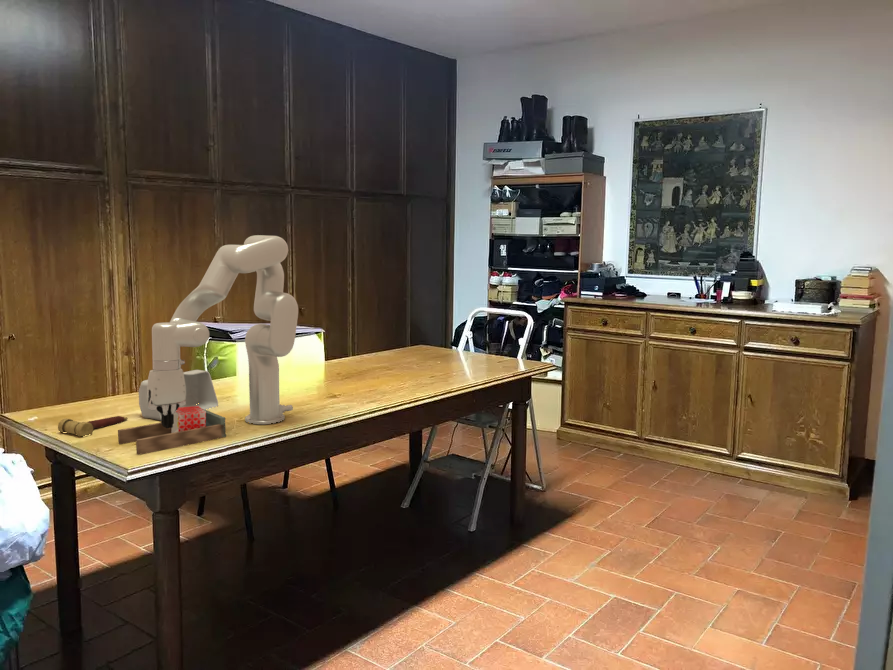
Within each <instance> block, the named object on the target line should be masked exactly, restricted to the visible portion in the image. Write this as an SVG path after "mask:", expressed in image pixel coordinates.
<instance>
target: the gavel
mask: <svg viewBox="0 0 893 670" xmlns="http://www.w3.org/2000/svg"><path fill="white" fill-rule="evenodd" d="M127 420H128V416H122V415H117V416H111V417H105V418H100V419H94V420H89V421H81V422H80V421H76V420H73V419H71V418H62V419H61V420H60V421H59V422H58V425H57V429H58V432H59V431H60V432H67V433H66V434H69V433H72V434H71V435H73V434H77V435H78V436H77V435H76V436H77V437H79V436H85V435H89V434H91V435H92V434H93V431H94V429H95V430H96V429H100V427H101V428H104V427H109V425H110V426H113V424H114V425H118V424H121V422H122V423H123V422H126V421H127ZM117 423H118V424H117ZM60 432H59V433H60Z"/></svg>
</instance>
